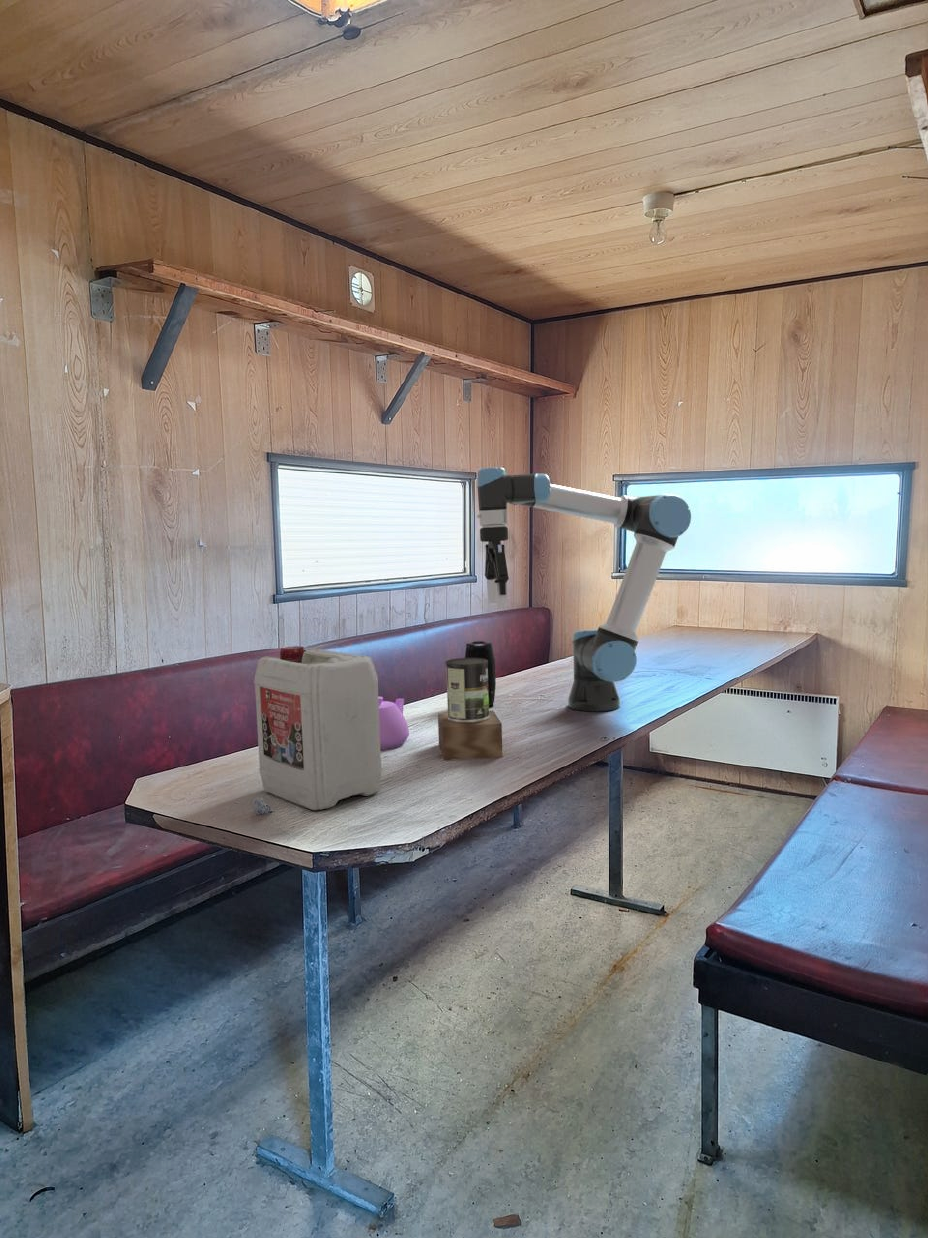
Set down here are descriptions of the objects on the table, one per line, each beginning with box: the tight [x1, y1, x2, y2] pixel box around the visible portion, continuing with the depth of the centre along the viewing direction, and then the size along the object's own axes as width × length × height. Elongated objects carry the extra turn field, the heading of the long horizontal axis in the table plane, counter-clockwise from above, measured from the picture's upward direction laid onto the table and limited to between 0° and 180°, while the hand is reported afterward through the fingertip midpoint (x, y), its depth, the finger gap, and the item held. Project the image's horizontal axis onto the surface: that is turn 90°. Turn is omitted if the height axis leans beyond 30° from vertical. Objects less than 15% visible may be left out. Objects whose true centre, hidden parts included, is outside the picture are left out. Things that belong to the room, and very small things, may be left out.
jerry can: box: [253, 645, 383, 811], centre depth 166 cm, size 24×19×30 cm
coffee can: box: [445, 657, 490, 723], centre depth 194 cm, size 10×10×14 cm
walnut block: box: [437, 710, 504, 761], centre depth 195 cm, size 14×14×8 cm
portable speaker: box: [464, 640, 497, 707], centre depth 243 cm, size 9×9×20 cm
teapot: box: [378, 695, 410, 751], centre depth 205 cm, size 22×16×12 cm
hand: (497, 605), depth 218 cm, fingers open, 13 cm apart
